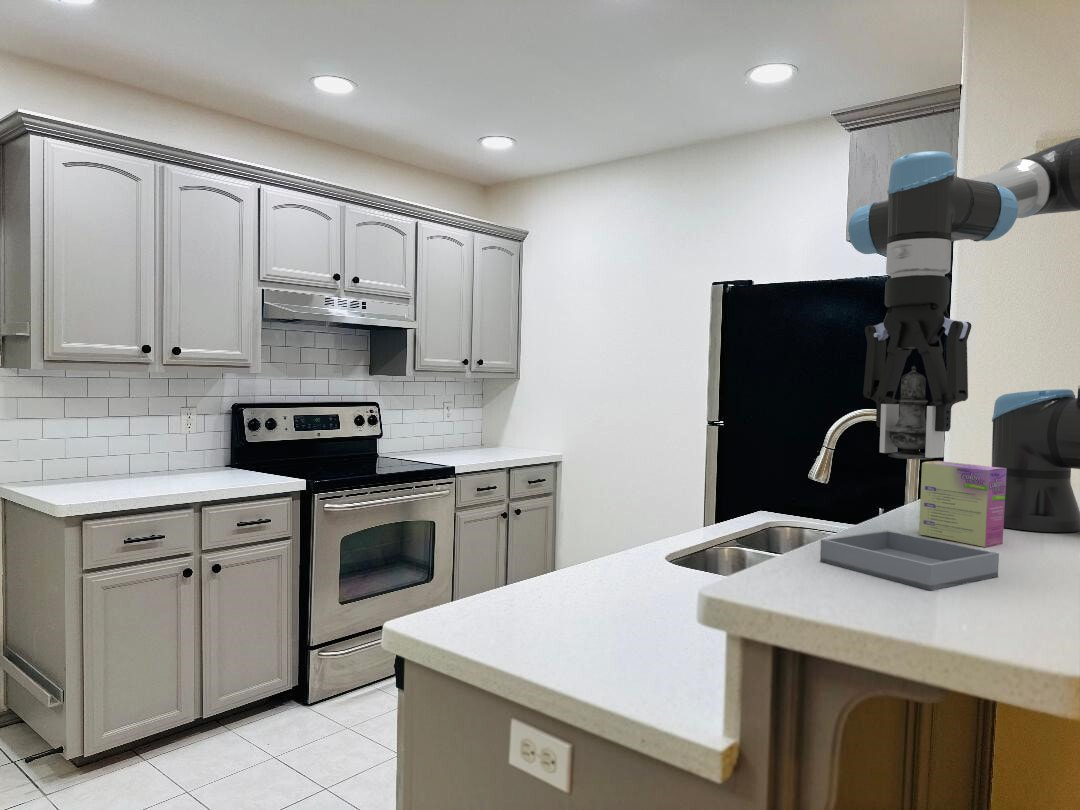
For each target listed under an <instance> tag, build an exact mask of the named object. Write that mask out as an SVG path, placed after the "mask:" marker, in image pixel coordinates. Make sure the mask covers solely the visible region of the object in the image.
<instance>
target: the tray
mask: <svg viewBox="0 0 1080 810" xmlns="http://www.w3.org/2000/svg"><path fill="white" fill-rule="evenodd" d="M819 553H820V555H819V556H820V558H819V559H820V560H819V562H821V563H826V564H828V565H832V566H836V567H840V568H843V569H847V570H852V571H855V572H859V573H863V574H866V575H869V576H874V577H877V578H881V579H885V580H889V581H892V582H895V583H896V582H897V583H900V584H903V585H907V586H911V587H915V588H919V589H922V590H925V591H936V590H940V589H945V588H946V589H947V588H950V587H955V586H959V584H960V585H964V584H963V583H965V584H967V583H966V582H970V583H973V582H972V581H975V582H978V581H977V580H980V581H983V580H982V579H984V580H987V579H988V578H989V579H992V577H994V578H998V577H999V564H1000V563H999V560H1000V559H999V556H1000V553H999V552H995V551H990V550H985V549H981V548H975V547H970V546H965V545H961V544H960V545H959V544H956V543H950V542H946V541H941V540H937V539H930V538H926V537H920V536H916V535H911V534H908V533H901V532H896V531H892V530H882V531H881V530H880V531H874V532H873V531H872V532H867V533H858V534H851V535H845V536H844V535H843V536H836V537H831V538H822V539H820V552H819ZM989 579H988V580H989Z"/></svg>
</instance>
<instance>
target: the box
mask: <svg viewBox="0 0 1080 810" xmlns="http://www.w3.org/2000/svg"><path fill="white" fill-rule="evenodd" d="M1006 472H1007V469H1006V468H999V467H992V466H990V465H989V466H988V465H987V466H986V465H980V464H971V463H969V464H968V463H959V462H951V461H944V460H943V461H942V460H933V461H932V460H931V461H923V462H922V463H921V479H920V481H921V482H920V500H919V503H920V504H919V520H918V521H919V522H918V528H919V530H918V534H919V536H920V535H921V536H927V537H933V538H938V539H943V540H948V541H952V542H957V543H962V544H967V545H970V546H971V545H972V546H976V547H980V548H989V547H995V546H998V545H1002V544H1003V543H1004V529H1005V527H1004V511H1005V492H1006Z"/></svg>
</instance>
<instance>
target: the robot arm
mask: <svg viewBox="0 0 1080 810" xmlns="http://www.w3.org/2000/svg"><path fill="white" fill-rule="evenodd" d="M890 166H891V167H890V170H889V171H890V172H889V181H888V189H887V194H888V195H887V196H888V198H887V200H883V201H880V202H873V203H870V204H867V205H864V206H861V207H859V208H857V209H856V210H855V211H853V213H852V214H851V216H850V218H849V221H848V224H847V225H848V226H847V227H848V228H847V233H848V236H849V241H850V243H851V246H852V247H853V248H854V249H855V250H856V251H857V252H858V253H861V254H863V255H872V254H874V255H875V254H878V255H881V254H884V253H886V262H885V263H886V264H885V265H886V266H885V274H886V275H887V276H889V277H890V278H887V280H886V281H885V286H884V287H885V288H884V289H885V290H884V305H885V307H886V314H885V317H884V319H883V322H880V323H878V324H875V325H866V326H865V328H864V334H865V338H866V343H867V345H866V346H867V347H866V355H865V356H866V357H865V366H864V367H865V368H864V380H863V391H862V394H863V397H864V398H865V399H869V400H872V401H874V402H875V404H876V413H875V415H876V417H875V425H876V427H877V428H880V429H879V431H880V432H879V433H880V434H879V435H880V436H879V453H882V454H891V453H892V452H898V447H896V446H895V445H894V444H893V443H892V442H891V440H890V437H889V431H887V429H888V428H892V427H894V426H895V425H896V424H897V422H898V419H899V412H900V403H897V402H898V401H897V400H898V399H895V397H896V394H897V391H898V387H899V386H900V385H899V384H900V382H901V379H902V376H903V372H904V368H905V365H906V362H907V359H908V357H909V356H910V355H911V354H912V352H913V350H915V349H917V351H918V354H919V355H920V356H921V358H922V362H923V366H924V370H925V375H926V380H927V383H928V386H929V387H928V388H929V389H930V394H931V399H932V401H930V402H929V404H930V405H927V406H926V448H925V452H924V453H925V457H927V458H933V459H935V458H945V455H944V454H945V436H946V435H945V433H946V432H950V430H951V426H952V424H951V423H952V408H953V405H955V404H957V403H961V402H966V401H967V400H968V398H969V378H968V377H969V375H968V373H969V372H968V370H969V369H968V339H969V336H970V334H971V330H972V323H971V322H969V321H962V320H954V319H951V318H950V315H949V312H948V310H947V308H948V305H949V303H950V285H951V279H949V277H948V276H946V274H948V273H949V272H951V262H952V260H951V259H952V258H951V256H952V242H957V241H964V240H970V241H973V242H976V243H977V242H984V241H985V242H991V241H995V240H998V239H1000V238H1002V237H1003V236H1005V235H1006V234H1007V233H1009V231H1010V230H1011V229H1012V228H1013V226H1015V225H1014V224H1015V222H1016V220H1017V219H1023V218H1029V217H1032V216H1036V215H1037V216H1038V215H1047V214H1056V213H1067V212H1068V213H1070V212H1079V211H1080V137H1077V138H1073V139H1070V140H1065V141H1063V142H1060V143H1057V144H1055V145H1053V146H1049V147H1047V148H1045V149H1042V150H1040V151H1037V152H1035V153H1033V154H1029V155H1028V156H1025V157H1022V158H1018V159H1014V160H1012V161H1009V162H1007V163H1005V164H1004V165H1003V166H1002V167H1001V168H1000V169H999V170H997V171H993V172H990V173H986V174H982V175H978V176H974V177H971V178H963V177H959V176H956V175H955V174H956V169H955V159H954V158H953V157H952V155H951V154H950V153H948V152H945V151H939V150H937V151H935V150H933V151H932V150H930V151H919V152H913V153H909V154H905V155H903V156H901V157H899V158H897V159H895V160H894V161H893V162H892V164H891V165H890ZM943 333H944V334H945V335H946V341H945V342H946V343H945V350H946V351H945V352H946V358H945V359H946V364H945V360H944V356H943V353H944V347H943V344H942V340H941V336H942V335H943ZM889 337H890V338H889ZM888 338H889V341H888V345H887V339H888ZM886 355H887V356H886ZM991 422H992V436H991V437H992V438H991V439H992V440H991V441H992V442H991V467H999V468H1006V469H1007V472H1006V492H1005V511H1004V529H1005V528H1007V529H1012V530H1020V531H1022V530H1023V531H1030V532H1041V533H1042V532H1043V533H1070V532H1071V533H1072V532H1073V533H1074V532H1078V531H1080V508H1079V504H1078V502H1077V500H1076V496H1075V493H1074V489H1073V487H1072V483H1071V482H1072V481H1071V476H1072V469H1075V470H1080V385H1078V387H1077V397H1076V395H1075V392H1074V391H1073V390H1072V389H1068V388H1067V389H1065V388H1063V389H1044V390H1031V391H1030V390H1029V391H1019V392H1011V393H1006V394H1002V395H1000V396H999V397H997V398H996V400H995V402H994V407H993V412H992V418H991Z"/></svg>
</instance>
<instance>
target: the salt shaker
mask: <svg viewBox="0 0 1080 810" xmlns="http://www.w3.org/2000/svg"><path fill="white" fill-rule="evenodd" d="M910 369H911V371H909V372H908V373H906V374H904V375H902V376H901V378H900V398H899V399H896V400H897V401H896V402H898V404H899V419H898V422H897V424H896V425H895V426H894V427H892V428H888V429H887V431H889V437H890V440H891V442H892V443H893V444H894V445H895V446H896V447H897V449H898V448H899V449H901V450H900V451H897V452H892V453H888V457H889V458H895V459H903V460H904V459H905V460H922V461H923V460H924V461H925V460H933V459H934V458H927V457H925V452H921V450H924V449H926V421H927V419H926V404H927V403H928V402H929V401H928V399H926V384H927V383H926V382H927V378H926V377H925V376H924V375H923V374H921V373H919V372H918V371H917V369H918V368H916V366H915V365H913V366H911V368H910Z"/></svg>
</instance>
